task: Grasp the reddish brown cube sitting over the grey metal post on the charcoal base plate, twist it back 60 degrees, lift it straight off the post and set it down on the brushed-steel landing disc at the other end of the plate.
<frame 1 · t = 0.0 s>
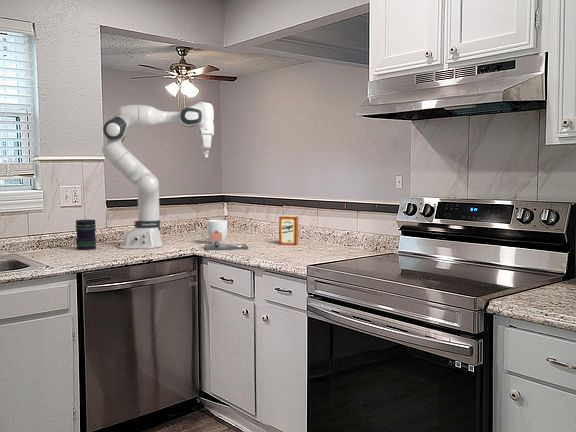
hand: (206, 157, 307), 48 cm above the worktop, fingers open, 8 cm apart
storage jar: (86, 249, 295), on the worktop
baking soda box: (288, 244, 316), on the worktop
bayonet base: (226, 248, 299), on the worktop
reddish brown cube: (216, 240, 298), point 4 cm above the worktop, touching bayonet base
mug: (215, 244, 317), on the worktop
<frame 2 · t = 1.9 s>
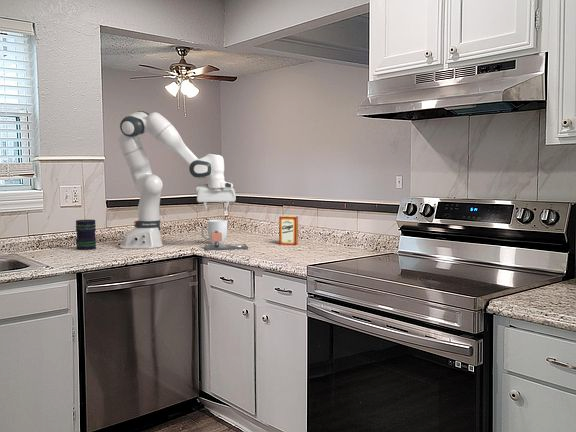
hand: (216, 210, 296), 20 cm above the worktop, fingers open, 8 cm apart
nothing on the worktop moved.
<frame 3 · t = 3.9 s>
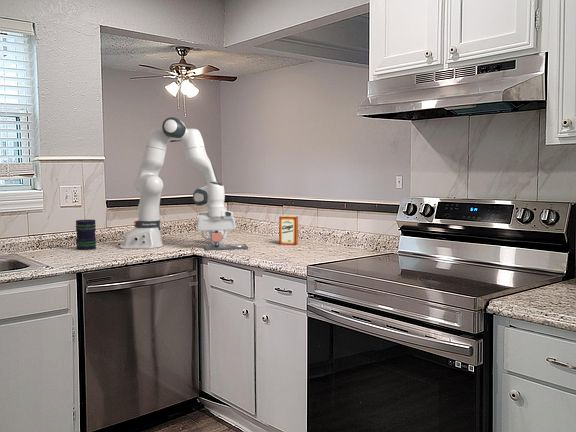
hand: (216, 238, 298), 5 cm above the worktop, fingers closed on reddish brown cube, 5 cm apart
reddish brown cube: (216, 240, 298), point 4 cm above the worktop, touching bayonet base, gripper
everything else where it was.
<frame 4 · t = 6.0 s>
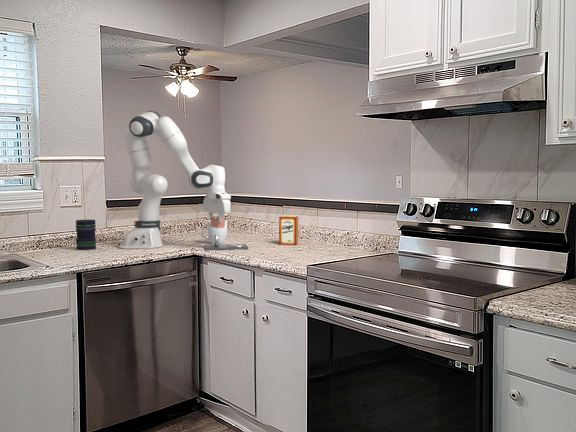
hand: (215, 221, 297), 14 cm above the worktop, fingers closed on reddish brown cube, 5 cm apart
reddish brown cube: (217, 226, 299), point 11 cm above the worktop, tilted 7°, touching gripper
everything else where it was.
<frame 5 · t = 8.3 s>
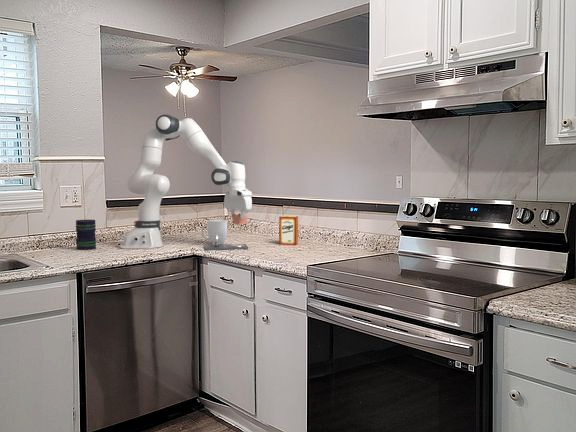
hand: (237, 218, 300), 16 cm above the worktop, fingers closed on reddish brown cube, 5 cm apart
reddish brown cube: (239, 223, 301), point 13 cm above the worktop, tilted 7°, touching gripper
everything else where it was.
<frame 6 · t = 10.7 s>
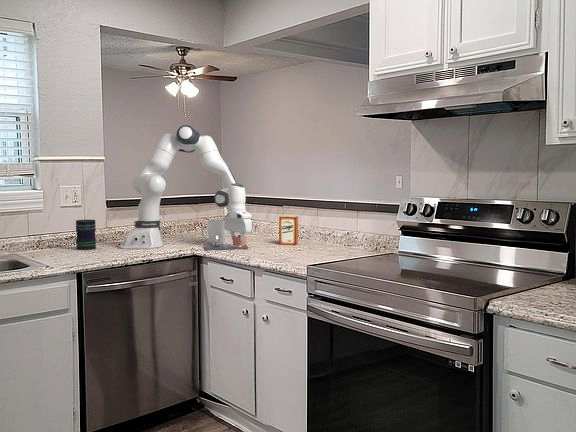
hand: (237, 240, 300), 4 cm above the worktop, fingers closed on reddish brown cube, 5 cm apart
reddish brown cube: (239, 244, 302), point 2 cm above the worktop, touching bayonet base, gripper
everything else where it was.
when the fingers open (4 cm above the worktop, at t = 10.7 s): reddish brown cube stays where it is, resting on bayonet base.
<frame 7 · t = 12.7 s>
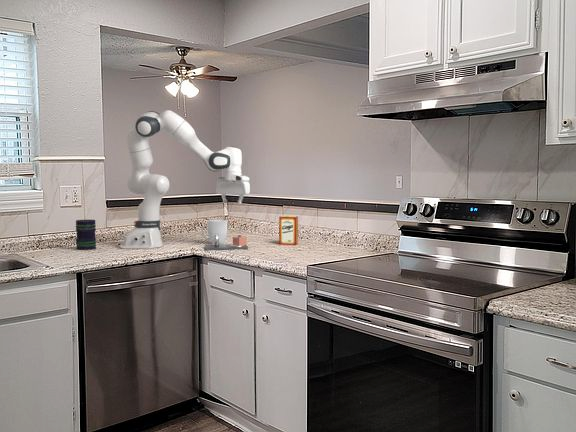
hand: (232, 203, 300), 24 cm above the worktop, fingers open, 8 cm apart
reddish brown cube: (239, 244, 302), point 1 cm above the worktop, touching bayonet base
everything else where it was.
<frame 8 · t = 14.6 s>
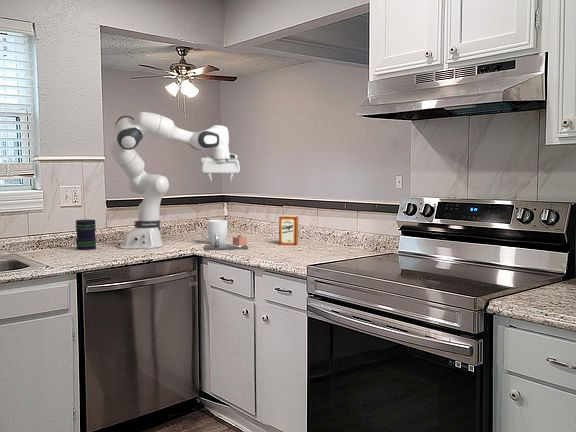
hand: (220, 181, 302), 35 cm above the worktop, fingers open, 8 cm apart
nothing on the worktop moved.
at the end: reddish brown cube 1.8 cm from the target spot on the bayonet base, point 1.5 cm above the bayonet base's base; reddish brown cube tilted 0°; the gripper is holding nothing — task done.
